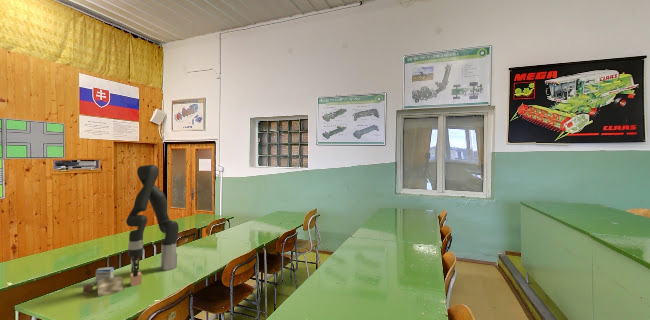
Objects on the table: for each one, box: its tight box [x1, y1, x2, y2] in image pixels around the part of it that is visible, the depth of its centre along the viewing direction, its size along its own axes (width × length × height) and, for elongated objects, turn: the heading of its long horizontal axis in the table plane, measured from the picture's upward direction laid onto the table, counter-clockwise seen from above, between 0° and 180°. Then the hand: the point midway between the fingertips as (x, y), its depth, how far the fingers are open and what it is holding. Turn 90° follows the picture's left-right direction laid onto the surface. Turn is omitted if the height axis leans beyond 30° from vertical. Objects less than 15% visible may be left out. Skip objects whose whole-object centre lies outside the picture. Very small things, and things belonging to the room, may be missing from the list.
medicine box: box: [94, 266, 115, 285], centre depth 166 cm, size 8×4×9 cm, turn 105°
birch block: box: [96, 275, 124, 298], centre depth 157 cm, size 11×11×5 cm
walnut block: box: [82, 283, 94, 296], centre depth 153 cm, size 4×4×4 cm
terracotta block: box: [129, 271, 143, 287], centre depth 166 cm, size 5×5×6 cm
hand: (134, 274), depth 165 cm, fingers open, 8 cm apart
